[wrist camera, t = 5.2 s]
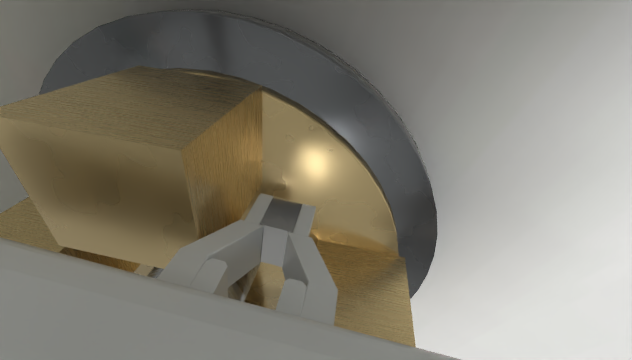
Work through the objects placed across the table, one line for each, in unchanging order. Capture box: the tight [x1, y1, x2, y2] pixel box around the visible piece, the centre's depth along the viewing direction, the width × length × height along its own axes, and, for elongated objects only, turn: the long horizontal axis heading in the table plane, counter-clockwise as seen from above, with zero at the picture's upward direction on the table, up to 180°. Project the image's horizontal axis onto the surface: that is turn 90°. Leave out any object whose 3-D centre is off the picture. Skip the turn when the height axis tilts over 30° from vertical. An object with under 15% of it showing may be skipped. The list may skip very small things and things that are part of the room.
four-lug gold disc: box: [0, 65, 415, 347], centre depth 14 cm, size 20×20×6 cm
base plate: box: [39, 10, 437, 299], centre depth 18 cm, size 24×24×2 cm
